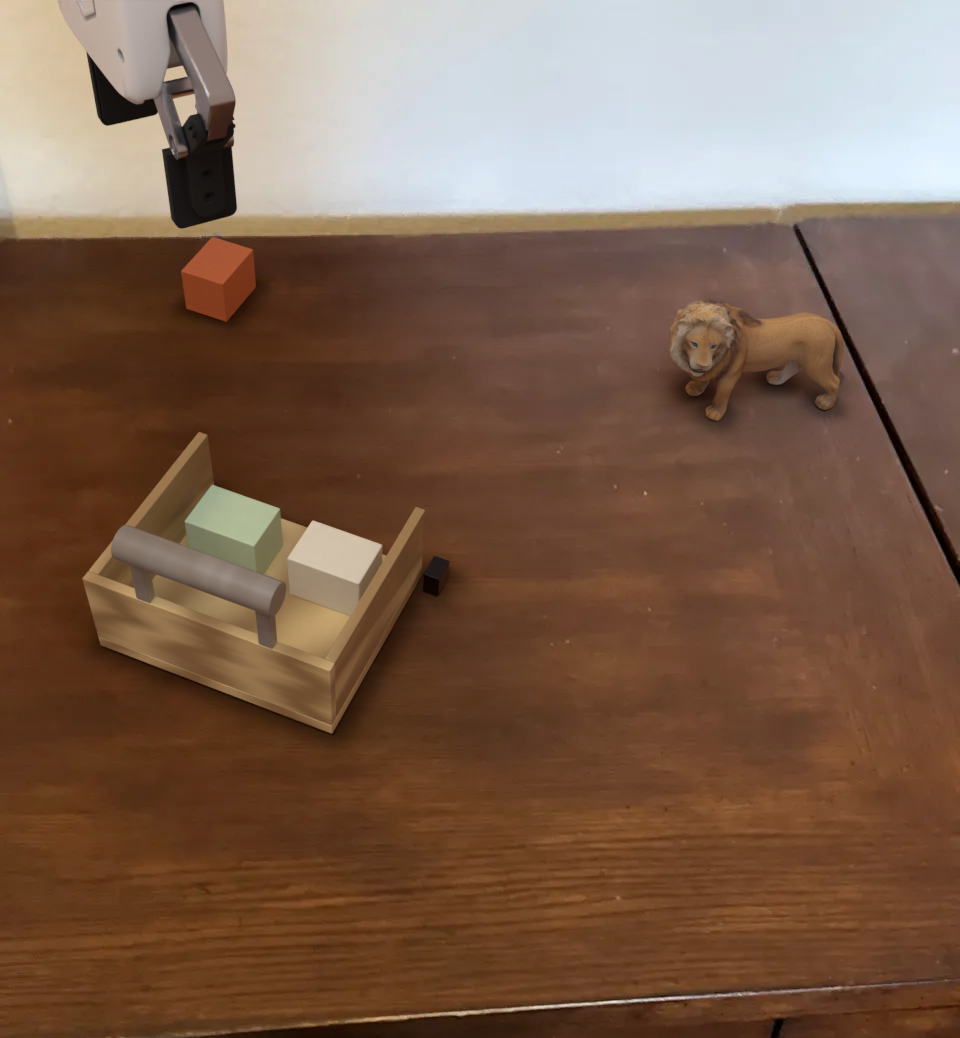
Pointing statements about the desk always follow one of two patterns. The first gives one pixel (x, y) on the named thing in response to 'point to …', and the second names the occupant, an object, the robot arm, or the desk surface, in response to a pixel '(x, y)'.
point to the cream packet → (332, 567)
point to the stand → (435, 576)
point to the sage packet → (235, 529)
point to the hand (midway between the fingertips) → (166, 166)
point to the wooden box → (240, 607)
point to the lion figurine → (753, 350)
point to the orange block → (219, 279)
